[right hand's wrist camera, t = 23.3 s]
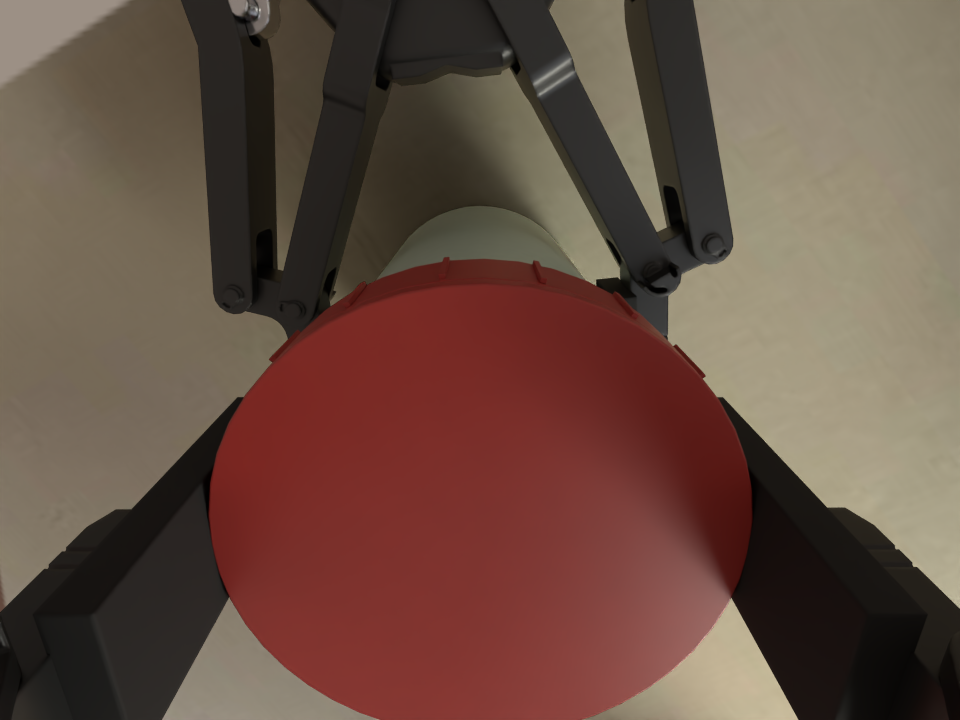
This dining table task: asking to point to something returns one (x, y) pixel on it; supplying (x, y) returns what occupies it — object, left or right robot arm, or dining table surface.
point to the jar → (480, 241)
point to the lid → (480, 498)
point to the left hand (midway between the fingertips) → (493, 469)
